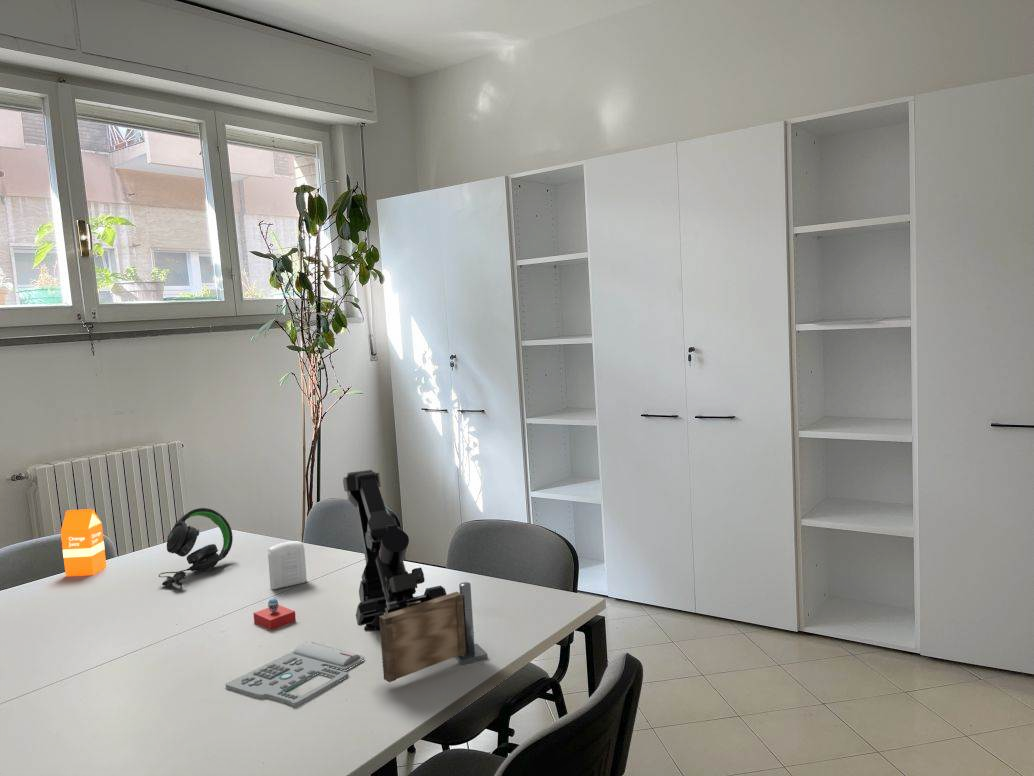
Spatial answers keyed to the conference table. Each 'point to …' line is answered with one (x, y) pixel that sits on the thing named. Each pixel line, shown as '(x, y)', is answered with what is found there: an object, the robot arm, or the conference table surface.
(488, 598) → the conference table surface
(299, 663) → the office telephone
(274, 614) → the joystick
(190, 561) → the headset
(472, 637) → the gate post
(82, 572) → the orange juice
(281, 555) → the white tombstone
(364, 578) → the robot arm
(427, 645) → the gate
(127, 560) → the conference table surface
